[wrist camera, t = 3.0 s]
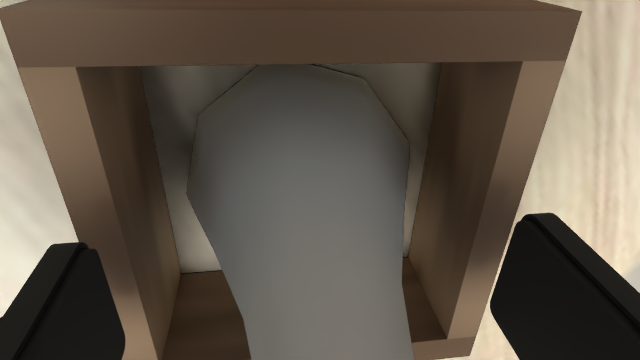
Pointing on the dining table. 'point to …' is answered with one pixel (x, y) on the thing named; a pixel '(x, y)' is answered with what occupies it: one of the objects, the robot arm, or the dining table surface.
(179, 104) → the dining table surface
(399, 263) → the flask
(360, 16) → the frame
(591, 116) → the dining table surface
